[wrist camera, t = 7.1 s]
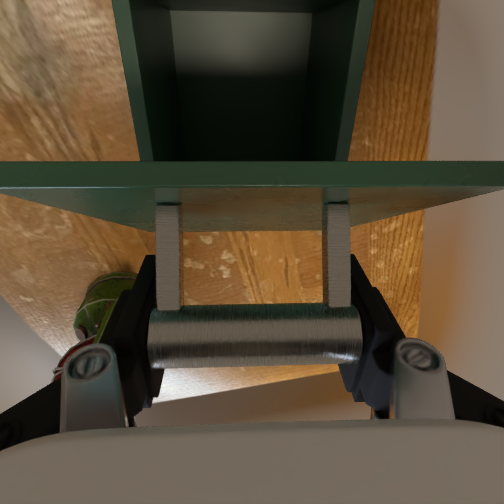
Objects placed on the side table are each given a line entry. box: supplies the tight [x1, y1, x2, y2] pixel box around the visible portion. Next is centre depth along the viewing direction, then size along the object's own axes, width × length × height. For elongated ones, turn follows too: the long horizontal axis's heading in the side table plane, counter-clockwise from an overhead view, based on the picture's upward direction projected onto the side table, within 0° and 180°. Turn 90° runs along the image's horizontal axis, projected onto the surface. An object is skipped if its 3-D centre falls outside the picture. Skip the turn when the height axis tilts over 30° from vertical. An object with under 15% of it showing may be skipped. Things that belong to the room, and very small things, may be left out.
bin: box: [111, 0, 376, 161], centre depth 22 cm, size 13×12×12 cm
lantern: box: [50, 272, 138, 384], centre depth 27 cm, size 14×11×30 cm
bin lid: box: [0, 161, 504, 369], centre depth 14 cm, size 14×12×5 cm
